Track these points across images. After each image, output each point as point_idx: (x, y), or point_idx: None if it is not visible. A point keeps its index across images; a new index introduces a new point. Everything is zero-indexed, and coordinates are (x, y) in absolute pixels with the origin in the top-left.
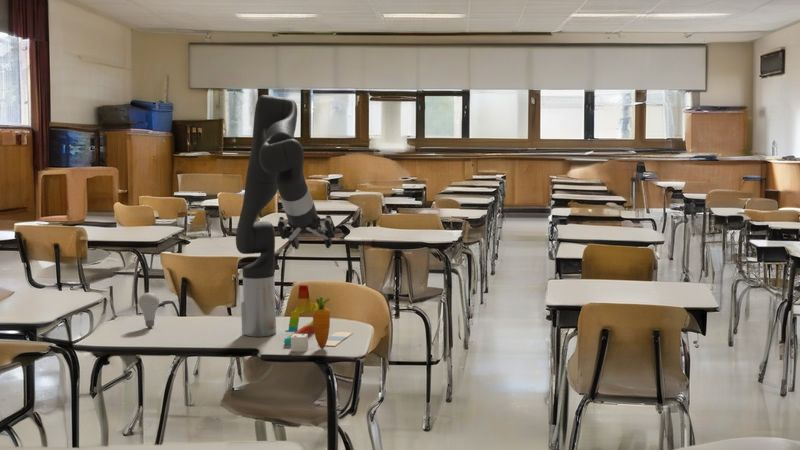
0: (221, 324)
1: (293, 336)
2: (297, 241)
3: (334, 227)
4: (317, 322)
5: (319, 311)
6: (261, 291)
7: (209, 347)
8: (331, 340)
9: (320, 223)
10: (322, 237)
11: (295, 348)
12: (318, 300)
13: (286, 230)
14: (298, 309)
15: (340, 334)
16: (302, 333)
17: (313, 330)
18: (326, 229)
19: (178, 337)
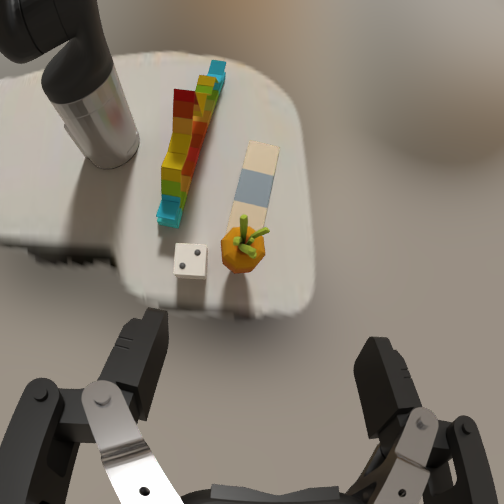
0: None
1: (178, 267)
2: (157, 349)
3: (478, 454)
4: (234, 271)
5: (241, 264)
6: (89, 118)
7: (40, 242)
8: (247, 202)
9: (416, 500)
10: (370, 461)
11: (185, 277)
12: (239, 243)
13: (54, 424)
14: (176, 144)
15: (258, 158)
16: (188, 176)
17: (205, 131)
18: (427, 450)
19: (7, 177)
